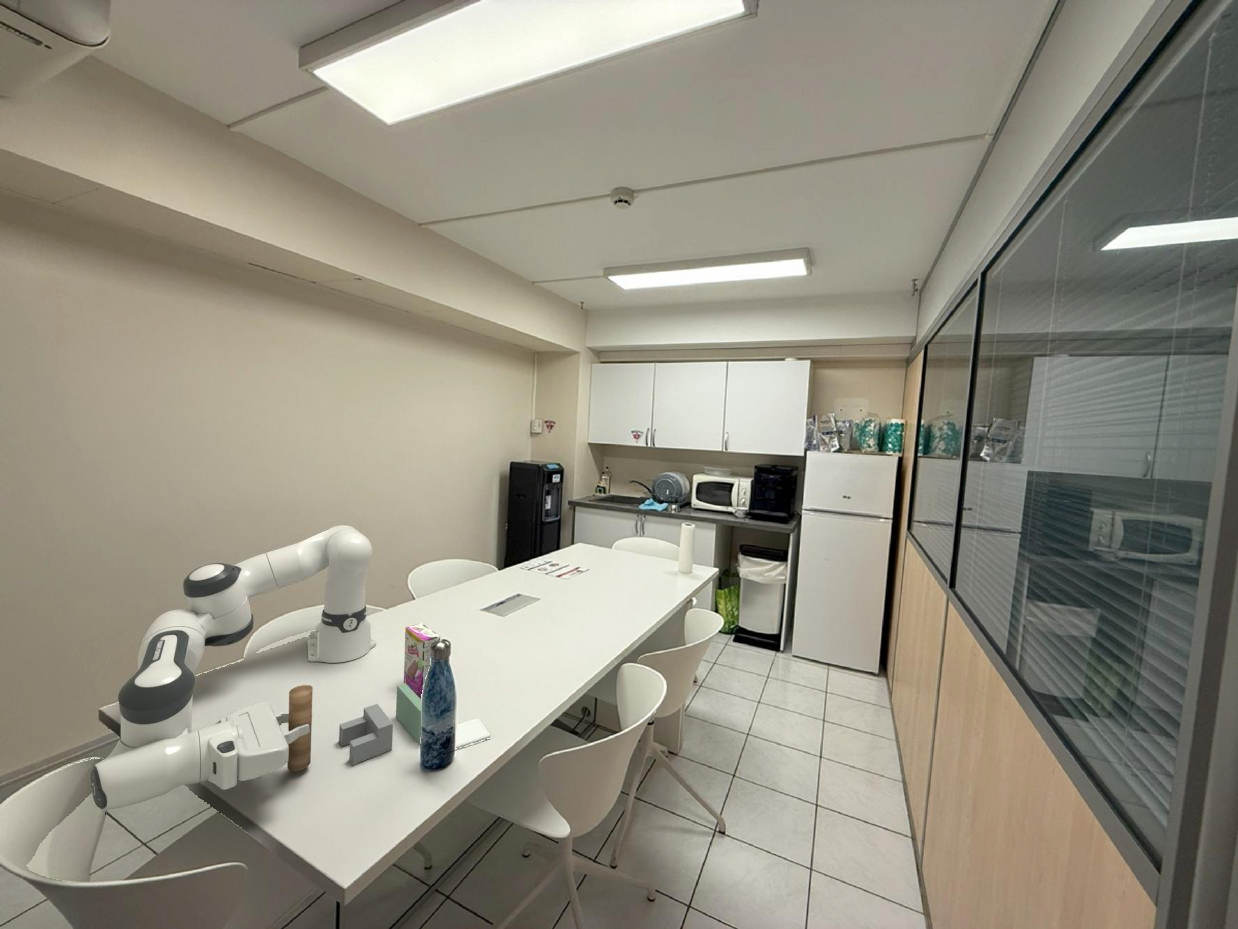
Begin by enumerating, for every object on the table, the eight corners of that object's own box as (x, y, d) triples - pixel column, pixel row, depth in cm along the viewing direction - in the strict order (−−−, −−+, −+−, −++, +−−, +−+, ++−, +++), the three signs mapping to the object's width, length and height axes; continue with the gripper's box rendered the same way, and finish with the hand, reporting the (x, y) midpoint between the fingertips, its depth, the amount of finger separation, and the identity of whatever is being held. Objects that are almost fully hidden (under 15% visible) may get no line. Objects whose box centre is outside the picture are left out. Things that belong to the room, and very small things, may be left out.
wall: (395, 716, 121) (397, 685, 120) (404, 713, 122) (405, 683, 122) (418, 744, 111) (420, 711, 110) (427, 741, 112) (428, 708, 112)
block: (339, 741, 110) (339, 716, 110) (376, 727, 116) (377, 703, 115) (352, 764, 103) (353, 737, 103) (391, 749, 109) (392, 723, 108)
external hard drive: (490, 741, 115) (436, 759, 108) (477, 723, 122) (426, 739, 114) (490, 735, 115) (436, 752, 107) (478, 717, 121) (426, 732, 114)
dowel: (285, 763, 100) (287, 689, 99) (307, 755, 103) (309, 683, 102) (289, 774, 98) (291, 697, 96) (312, 765, 100) (314, 691, 99)
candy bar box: (402, 683, 136) (404, 626, 135) (419, 677, 140) (421, 622, 139) (421, 700, 129) (423, 640, 127) (438, 693, 132) (441, 635, 131)
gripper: (212, 737, 98) (293, 712, 108) (225, 796, 84) (317, 761, 94) (212, 707, 98) (294, 685, 107) (226, 761, 83) (318, 730, 93)
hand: (305, 721), depth 100 cm, fingers closed on dowel, 4 cm apart
